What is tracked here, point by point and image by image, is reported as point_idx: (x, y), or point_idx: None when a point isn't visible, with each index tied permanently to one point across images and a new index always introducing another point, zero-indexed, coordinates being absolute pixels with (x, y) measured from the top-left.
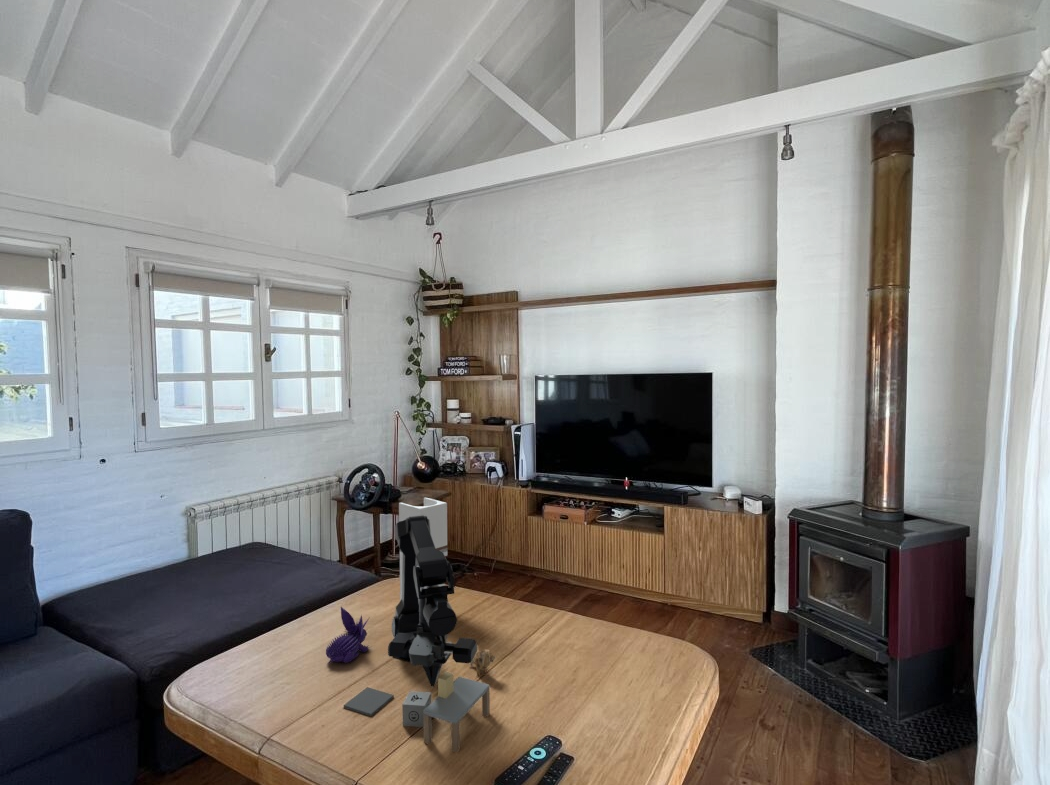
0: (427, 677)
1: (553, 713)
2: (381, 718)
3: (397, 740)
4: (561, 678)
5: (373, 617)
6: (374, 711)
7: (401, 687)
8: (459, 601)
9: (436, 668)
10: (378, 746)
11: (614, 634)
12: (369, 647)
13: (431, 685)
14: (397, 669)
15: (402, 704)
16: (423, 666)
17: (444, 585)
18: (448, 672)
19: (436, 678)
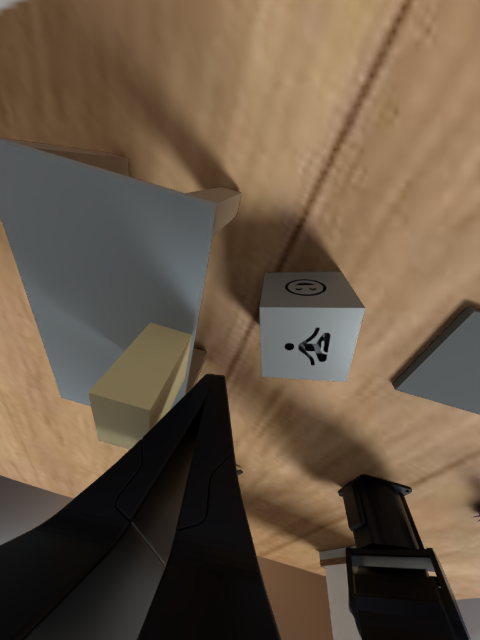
0: (229, 419)
1: (11, 347)
2: (425, 301)
3: (346, 191)
4: (67, 425)
5: (462, 561)
6: (459, 324)
7: (374, 414)
8: (304, 558)
9: (104, 495)
10: (428, 132)
11: (65, 488)
12: (476, 516)
13: (218, 377)
14: (394, 460)
15: (364, 307)
16: (236, 532)
17: (332, 619)
18: (127, 447)
19: (174, 411)
